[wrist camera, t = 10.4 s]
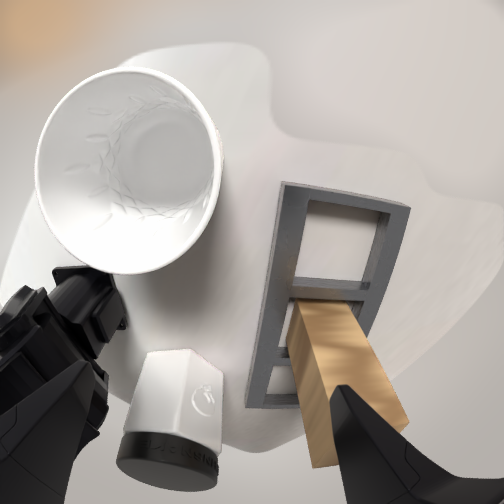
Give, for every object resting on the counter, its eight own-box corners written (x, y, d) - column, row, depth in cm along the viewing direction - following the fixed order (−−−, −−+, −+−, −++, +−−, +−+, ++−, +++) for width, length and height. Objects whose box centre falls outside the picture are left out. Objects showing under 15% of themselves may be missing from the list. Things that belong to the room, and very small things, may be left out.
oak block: (285, 338, 24) (312, 468, 12) (296, 297, 23) (338, 436, 11) (331, 339, 25) (375, 457, 13) (345, 300, 23) (409, 422, 11)
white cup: (197, 228, 20) (165, 307, 11) (107, 181, 18) (19, 223, 9) (252, 131, 17) (266, 123, 8) (153, 83, 15) (79, 45, 6)
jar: (240, 381, 26) (243, 485, 15) (189, 407, 28) (179, 496, 17) (174, 331, 24) (145, 448, 12) (127, 366, 25) (95, 460, 14)
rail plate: (245, 397, 28) (245, 407, 26) (281, 181, 19) (285, 184, 17) (329, 396, 29) (332, 406, 27) (401, 202, 20) (410, 207, 18)
